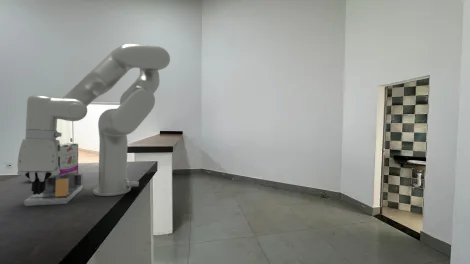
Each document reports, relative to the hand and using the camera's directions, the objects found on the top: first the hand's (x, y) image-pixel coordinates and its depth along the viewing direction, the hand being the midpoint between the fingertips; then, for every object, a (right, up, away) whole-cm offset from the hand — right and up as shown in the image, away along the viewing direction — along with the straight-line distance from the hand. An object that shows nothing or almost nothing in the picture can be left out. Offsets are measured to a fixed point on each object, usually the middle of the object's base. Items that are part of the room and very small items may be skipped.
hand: (38, 193), depth 75 cm
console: (0, -3, +8) cm, 8 cm away
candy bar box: (-10, -2, +25) cm, 27 cm away
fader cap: (+6, -1, +2) cm, 6 cm away
